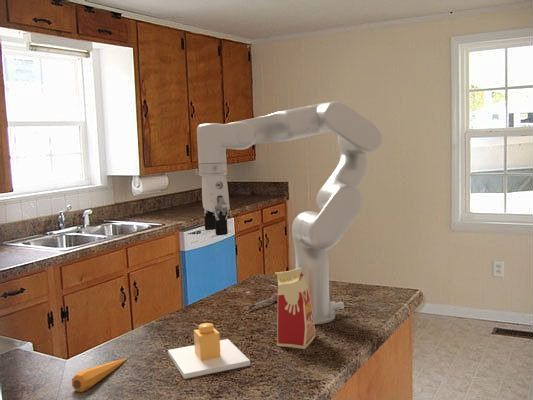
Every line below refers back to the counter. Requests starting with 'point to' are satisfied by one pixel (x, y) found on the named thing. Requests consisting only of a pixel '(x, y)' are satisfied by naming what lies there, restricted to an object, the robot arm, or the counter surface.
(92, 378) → the carrot
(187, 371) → the white plate
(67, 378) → the counter surface
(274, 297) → the screwdriver
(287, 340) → the milk carton
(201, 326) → the gold domed block
